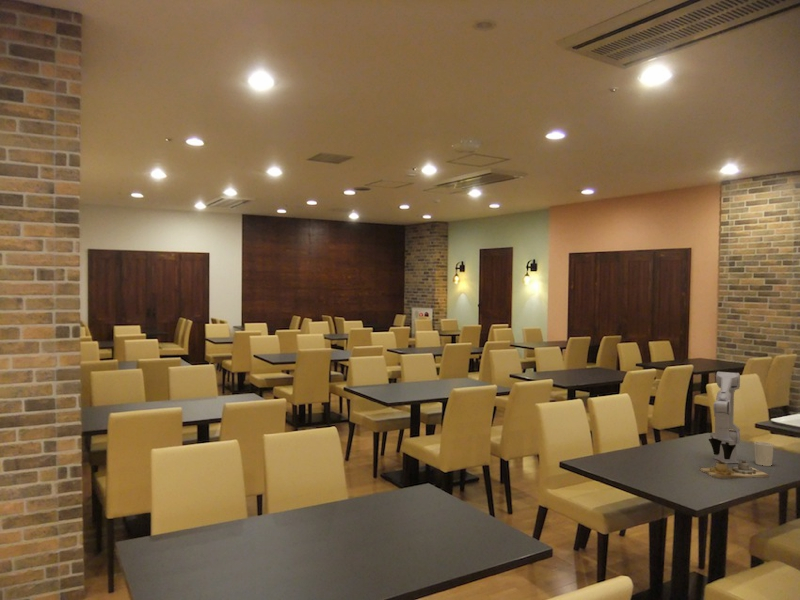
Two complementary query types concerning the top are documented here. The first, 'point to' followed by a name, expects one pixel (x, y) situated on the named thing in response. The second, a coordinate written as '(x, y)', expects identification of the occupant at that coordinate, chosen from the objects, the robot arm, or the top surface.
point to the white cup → (763, 453)
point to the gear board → (738, 471)
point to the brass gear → (721, 469)
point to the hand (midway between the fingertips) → (721, 456)
